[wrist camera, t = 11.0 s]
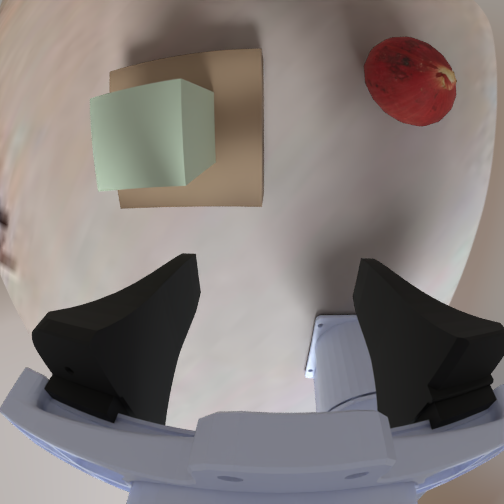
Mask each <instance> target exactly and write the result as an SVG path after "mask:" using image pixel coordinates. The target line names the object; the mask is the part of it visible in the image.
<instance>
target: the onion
mask: <svg viewBox="0 0 504 504" xmlns="http://www.w3.org/2000/svg"><path fill="white" fill-rule="evenodd" d="M364 73H365V84H366V86H367V88H368V90H369V92H370V94H371V96H372V98H373V100H374V101H375V102H376V103H377V104H378V105H379V106H380V107H381V109H382V110H383V111H384V112H385V113H387V114H388V115H390V116H392V117H393V118H395V119H397V120H398V121H400V122H402V123H406V124H411V125H416V126H427V125H430V124H433V123H436V122H439V121H440V120H441V119H442V118H443V117H444V116H445V115H446V114H447V113H448V112H449V111H450V110H451V108H452V106H453V103H454V100H455V97H456V82H457V80H456V78H455V75H454V72H453V71H452V68H451V66H450V65H449V63H448V62H447V61H446V59H445V58H444V56H443V55H442V54H441V53H440V52H438V51H437V50H436V49H435V48H433V47H432V46H431V45H429V44H428V43H426V42H423V41H420V40H418V39H415V38H411V37H392V38H389V39H386V40H384V41H383V42H381V43H379V44H378V45H376V46H375V47H373V49H372V50H371V51H370V53H369V55H368V58H367V60H366V62H365V64H364Z"/></svg>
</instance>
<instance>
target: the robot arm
mask: <svg viewBox="0 0 504 504" xmlns="http://www.w3.org/2000/svg"><path fill="white" fill-rule="evenodd" d="M200 293H201V291H200V284H199V276H198V268H197V260H196V254H184V253H183V254H181V255H179V256H177V257H175V258H174V259H172V260H171V261H169V262H168V263H166V264H165V265H163V266H162V267H160V268H159V269H157V270H156V271H154V272H152V273H151V274H149V275H147V276H146V277H144V278H143V279H141V280H139V281H138V282H136V283H134V284H132V285H130V286H128V287H126V288H124V289H122V290H120V291H118V292H116V293H114V294H111V295H109V296H106V297H104V298H101V299H98V300H96V301H93V302H90V303H86V304H83V305H79V306H76V307H71V308H67V309H61V310H56V311H50V312H48V313H47V314H46V316H45V317H44V318H43V319H42V320H41V321H40V323H39V324H38V325H37V326H36V327H35V329H34V330H33V332H32V340H33V343H34V346H35V348H36V350H37V352H38V353H39V355H40V356H41V358H42V359H43V361H44V362H45V364H46V365H47V367H48V368H49V369H50V371H51V372H52V374H53V375H52V377H51V378H50V380H49V379H48V378H47V377H45V376H44V375H42V374H40V373H38V372H36V371H34V370H32V369H30V368H28V367H26V368H25V369H24V371H23V372H22V374H21V375H20V377H19V378H18V380H17V381H16V383H15V384H14V386H13V388H12V389H11V391H10V392H9V394H8V396H7V397H6V399H5V401H4V402H3V404H2V406H1V408H0V412H1V413H2V414H3V415H4V416H5V417H6V418H7V419H8V420H9V421H10V422H11V423H12V424H13V425H14V426H15V427H16V428H18V429H19V430H20V431H21V432H22V433H23V434H24V435H25V436H27V437H28V438H29V439H30V440H32V441H33V442H34V443H35V444H37V445H38V446H40V447H41V448H43V449H45V450H46V451H48V452H49V453H51V454H53V455H54V456H56V457H58V458H59V459H61V460H63V461H65V462H66V463H68V464H70V465H72V466H73V467H75V468H77V469H79V470H81V471H83V472H85V473H87V474H89V475H91V476H93V477H95V478H97V479H99V480H101V481H104V482H106V483H108V484H110V485H113V486H115V487H118V488H120V489H122V490H125V491H128V492H130V493H129V496H128V500H127V503H126V504H418V503H417V501H418V499H419V498H420V497H421V496H422V495H423V494H424V493H425V492H426V491H427V490H430V489H432V488H435V487H437V486H439V485H442V484H444V483H446V482H448V481H450V480H453V479H454V478H457V477H459V476H461V475H463V474H464V473H466V472H469V471H470V470H472V469H474V468H476V467H478V466H480V465H481V464H483V463H485V462H487V461H488V460H490V459H492V458H493V457H495V456H497V455H498V454H499V453H501V452H502V451H503V450H504V384H502V385H500V386H498V387H497V388H495V389H494V390H492V388H491V386H490V384H492V383H493V378H492V376H491V373H492V372H493V370H494V369H495V368H496V366H497V365H498V363H499V362H500V360H501V359H502V357H503V356H504V327H503V325H501V323H498V322H494V321H490V320H486V319H482V318H479V317H476V316H473V315H470V314H467V313H464V312H462V311H459V310H457V309H455V308H452V307H450V306H448V305H446V304H444V303H442V302H440V301H438V300H436V299H434V298H432V297H431V296H429V295H427V294H425V293H424V292H422V291H421V290H419V289H418V288H416V287H415V286H413V285H411V284H410V283H409V282H407V281H406V280H404V279H403V278H401V277H400V276H399V275H397V274H396V273H395V272H393V271H392V270H390V269H389V268H388V267H386V266H385V265H383V264H382V263H380V262H379V261H377V260H375V259H363V258H361V261H360V266H359V271H358V276H357V280H356V285H355V289H354V293H353V300H354V306H355V311H356V315H320V316H318V317H317V318H316V320H315V326H314V331H313V336H312V341H311V346H310V351H309V356H308V361H307V365H306V370H305V377H306V378H314V388H315V400H316V412H311V413H268V412H248V411H228V412H216V413H213V414H211V415H208V416H205V417H203V418H200V419H199V420H198V424H197V427H196V431H192V430H186V429H180V428H175V427H170V426H165V422H166V415H167V408H168V402H169V396H170V391H171V386H172V382H173V377H174V373H175V368H176V364H177V360H178V357H179V354H180V351H181V348H182V345H183V343H184V340H185V338H186V335H187V333H188V330H189V328H190V325H191V323H192V320H193V318H194V315H195V313H196V310H197V306H198V302H199V297H200ZM319 324H321V325H319Z"/></svg>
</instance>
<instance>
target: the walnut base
mask: <svg viewBox="0 0 504 504" xmlns="http://www.w3.org/2000/svg"><path fill="white" fill-rule="evenodd" d="M174 79H184V80H186V81H189V82H191V83H193V84H196V85H198V86H201V87H203V88H205V89H208V90H210V91H212V92H214V123H215V156H216V163H214V164H213V165H212V166H210V167H209V168H208V169H206V170H205V171H204V172H203V173H201V174H200V175H199V176H197V177H196V178H195V179H194V180H192V181H191V182H190V183H189V184H187V185H186V186H170V187H150V188H135V189H121V190H118V195H119V201H120V207H121V209H123V208H148V207H192V206H245V207H262V202H263V195H264V96H263V56H262V50H261V49H234V50H220V51H209V52H201V53H193V54H186V55H179V56H174V57H168V58H163V59H158V60H153V61H148V62H144V63H140V64H136V65H132V66H128V67H125V68H121V69H117V70H114V71H111V72H110V93H112V92H115V91H119V90H123V89H127V88H132V87H136V86H141V85H146V84H151V83H156V82H162V81H168V80H174Z"/></svg>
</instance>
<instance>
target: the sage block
mask: <svg viewBox="0 0 504 504" xmlns="http://www.w3.org/2000/svg"><path fill="white" fill-rule="evenodd" d="M90 118H91V134H92V146H93V156H94V164H95V172H96V179H97V186H98V192H99V191H109V190H121V189H135V188H150V187H170V186H186V185H187V184H189V183H190V182H191V181H192V180H194V179H195V178H196V177H197V176H199V175H200V174H201V173H203V172H204V171H205V170H206V169H208V168H209V167H210V166H212V165H213V164H214V163H216V156H215V123H214V92H212V91H210V90H208V89H205V88H203V87H201V86H198V85H196V84H193V83H191V82H189V81H186V80H184V79H174V80H168V81H162V82H156V83H151V84H146V85H141V86H136V87H132V88H127V89H123V90H119V91H115V92H112V93H108V94H104V95H101V96H98V97H94V98H91V99H90Z"/></svg>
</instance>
